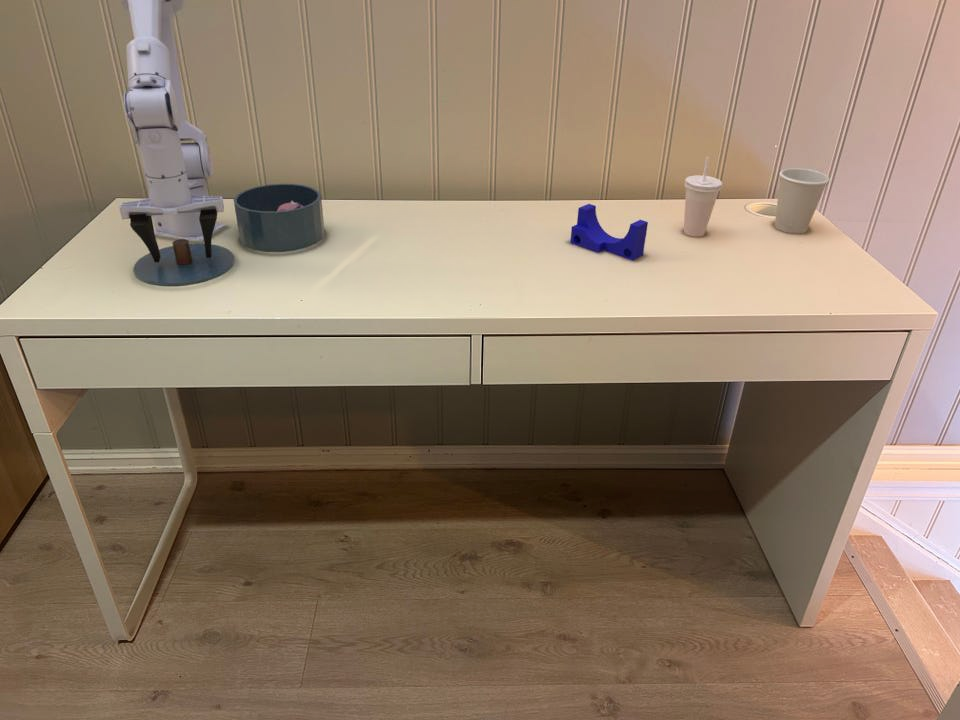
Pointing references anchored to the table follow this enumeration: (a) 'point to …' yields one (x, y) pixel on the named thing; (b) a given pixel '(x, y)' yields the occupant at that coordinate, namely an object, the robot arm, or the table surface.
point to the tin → (279, 217)
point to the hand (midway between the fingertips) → (183, 257)
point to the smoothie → (699, 201)
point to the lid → (183, 264)
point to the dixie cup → (798, 198)
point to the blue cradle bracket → (607, 235)
